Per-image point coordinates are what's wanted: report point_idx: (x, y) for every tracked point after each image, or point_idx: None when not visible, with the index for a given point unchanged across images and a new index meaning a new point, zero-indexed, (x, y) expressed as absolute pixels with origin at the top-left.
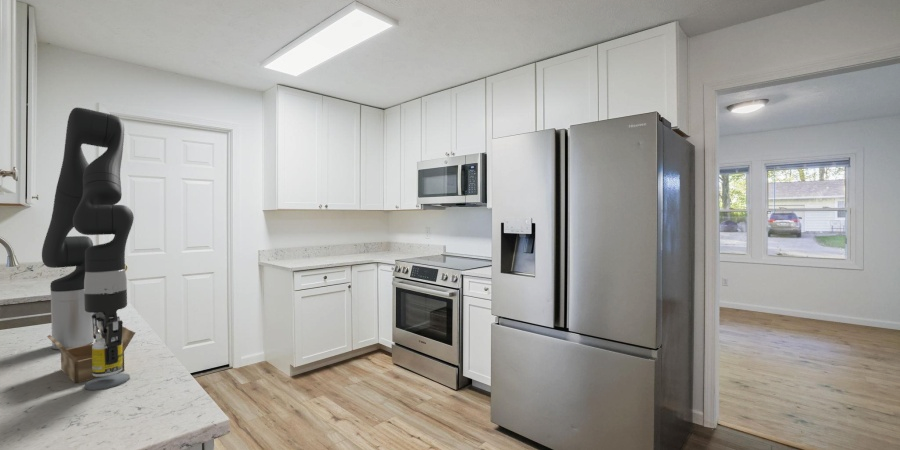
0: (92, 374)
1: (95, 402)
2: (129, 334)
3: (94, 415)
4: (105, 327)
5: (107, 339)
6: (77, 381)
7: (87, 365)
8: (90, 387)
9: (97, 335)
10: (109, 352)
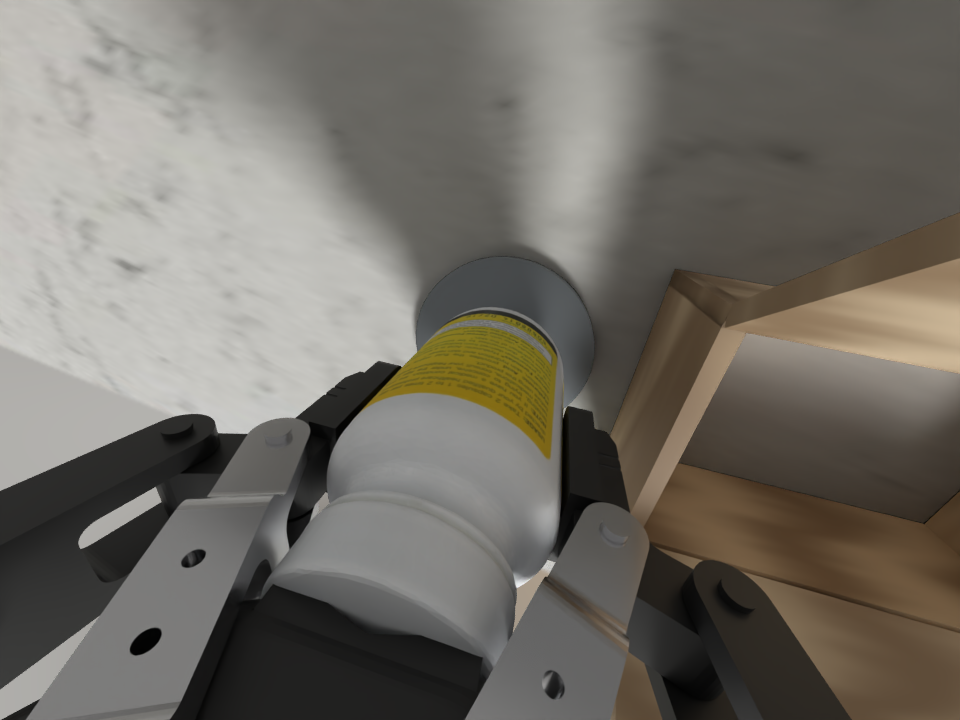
0: (650, 352)
1: (291, 206)
2: (656, 703)
3: (150, 143)
4: (24, 712)
5: (89, 476)
6: (673, 281)
7: (679, 360)
8: (468, 264)
9: (342, 547)
10: (303, 413)
